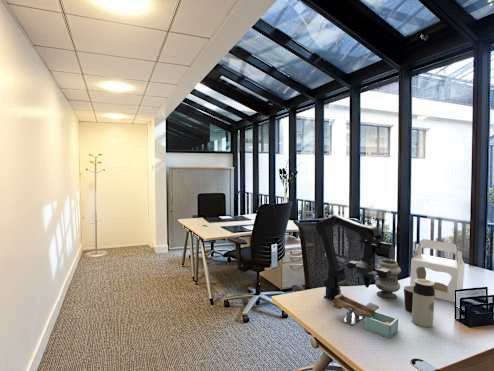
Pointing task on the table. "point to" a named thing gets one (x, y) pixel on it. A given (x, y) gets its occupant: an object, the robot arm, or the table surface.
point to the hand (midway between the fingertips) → (367, 287)
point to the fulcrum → (351, 317)
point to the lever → (355, 306)
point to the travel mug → (423, 302)
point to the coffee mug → (408, 298)
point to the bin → (382, 324)
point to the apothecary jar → (388, 279)
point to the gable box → (438, 267)
